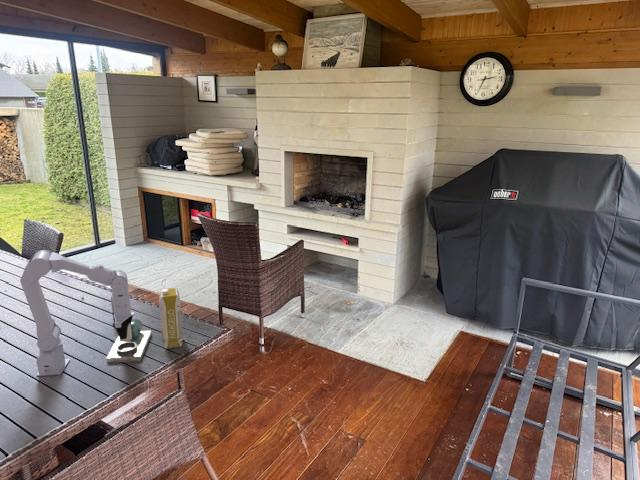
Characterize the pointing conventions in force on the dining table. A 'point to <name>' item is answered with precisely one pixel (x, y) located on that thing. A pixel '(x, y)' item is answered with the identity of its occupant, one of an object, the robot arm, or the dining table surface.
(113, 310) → the energy drink
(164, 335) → the juice carton
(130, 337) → the cream capsule cylinder
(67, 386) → the dining table surface
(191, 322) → the dining table surface
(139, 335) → the motor mount
